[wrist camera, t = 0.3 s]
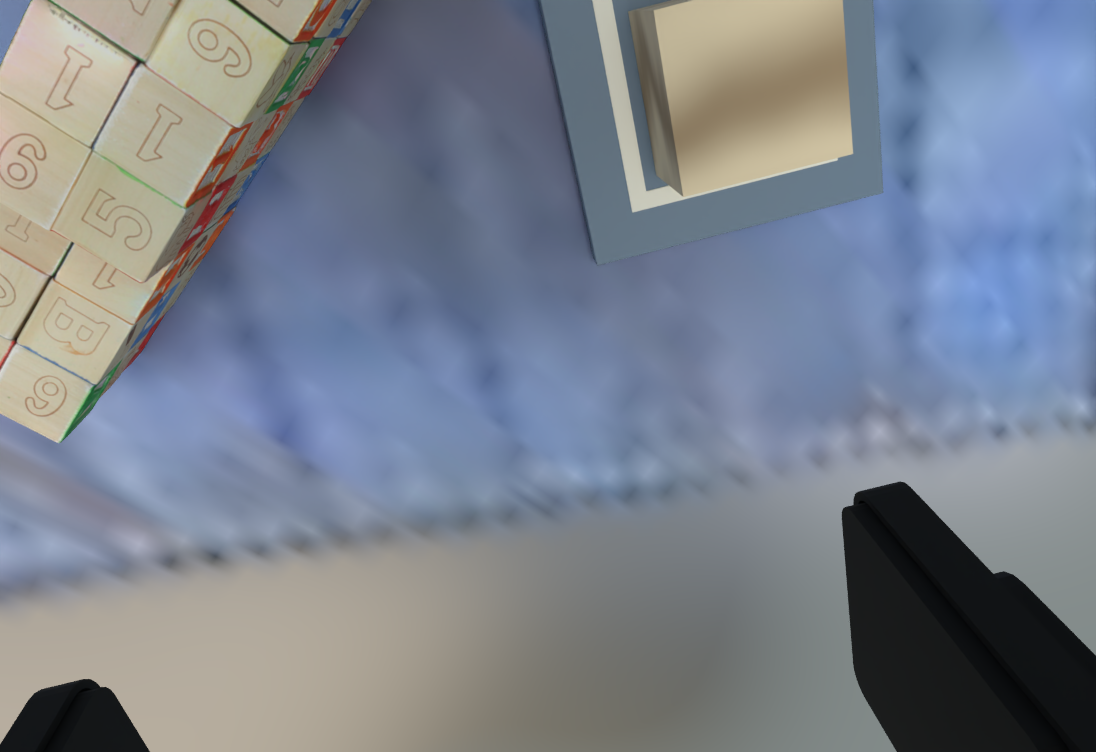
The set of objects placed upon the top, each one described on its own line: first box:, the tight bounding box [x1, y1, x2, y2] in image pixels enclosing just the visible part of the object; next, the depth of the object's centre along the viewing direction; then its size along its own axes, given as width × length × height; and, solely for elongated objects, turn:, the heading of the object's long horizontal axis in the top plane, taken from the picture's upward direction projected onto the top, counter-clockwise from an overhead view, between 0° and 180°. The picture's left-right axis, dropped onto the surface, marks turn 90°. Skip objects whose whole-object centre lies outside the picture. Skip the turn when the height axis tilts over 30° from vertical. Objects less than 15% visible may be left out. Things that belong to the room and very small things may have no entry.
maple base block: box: [628, 0, 853, 197], centre depth 33 cm, size 7×7×5 cm
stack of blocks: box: [0, 0, 372, 443], centre depth 30 cm, size 21×6×12 cm, turn 142°
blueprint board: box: [538, 0, 883, 266], centre depth 36 cm, size 14×14×1 cm
